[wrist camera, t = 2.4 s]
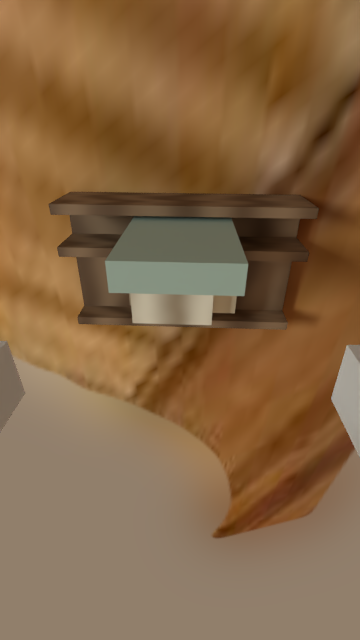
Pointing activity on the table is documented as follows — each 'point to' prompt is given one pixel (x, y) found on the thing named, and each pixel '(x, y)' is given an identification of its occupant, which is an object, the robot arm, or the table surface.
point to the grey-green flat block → (178, 257)
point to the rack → (245, 210)
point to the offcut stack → (179, 308)
